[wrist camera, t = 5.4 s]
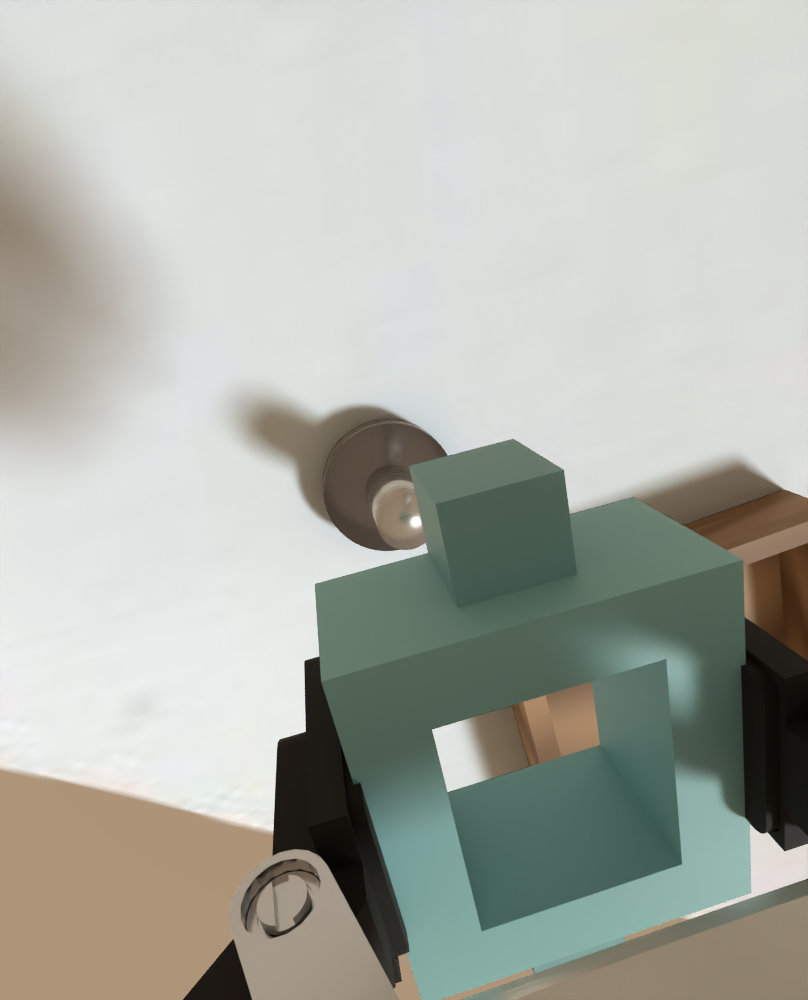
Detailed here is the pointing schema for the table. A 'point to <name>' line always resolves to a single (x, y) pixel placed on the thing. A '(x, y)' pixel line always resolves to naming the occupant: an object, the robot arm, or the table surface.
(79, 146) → the table surface
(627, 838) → the teal tabbed square frame
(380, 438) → the grey metallic peg stand
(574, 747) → the tray
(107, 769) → the table surface
